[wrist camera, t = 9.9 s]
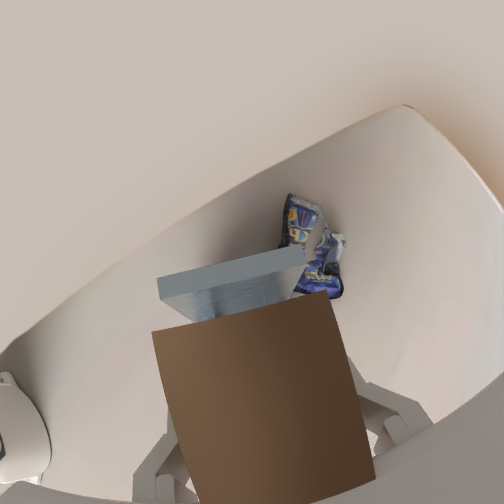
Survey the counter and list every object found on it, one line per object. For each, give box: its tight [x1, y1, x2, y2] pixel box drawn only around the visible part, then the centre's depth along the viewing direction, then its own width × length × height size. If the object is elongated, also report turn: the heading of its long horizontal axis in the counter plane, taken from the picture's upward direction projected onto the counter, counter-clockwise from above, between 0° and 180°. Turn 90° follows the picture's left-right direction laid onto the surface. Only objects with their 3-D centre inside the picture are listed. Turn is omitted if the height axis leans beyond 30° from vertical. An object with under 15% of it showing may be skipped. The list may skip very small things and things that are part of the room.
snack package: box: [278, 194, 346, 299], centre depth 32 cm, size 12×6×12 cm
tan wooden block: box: [152, 289, 376, 504], centre depth 10 cm, size 4×6×11 cm, turn 15°
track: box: [157, 244, 307, 323], centre depth 22 cm, size 10×16×14 cm, turn 14°
